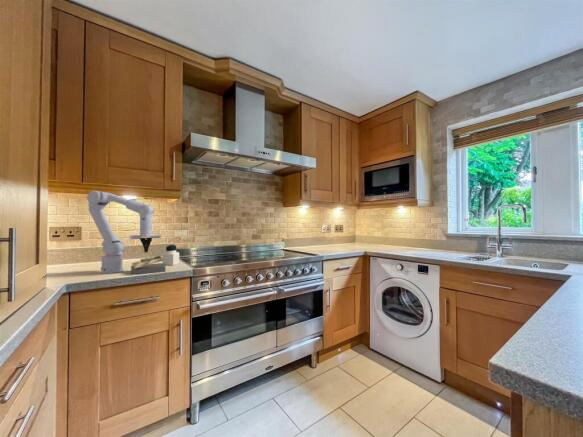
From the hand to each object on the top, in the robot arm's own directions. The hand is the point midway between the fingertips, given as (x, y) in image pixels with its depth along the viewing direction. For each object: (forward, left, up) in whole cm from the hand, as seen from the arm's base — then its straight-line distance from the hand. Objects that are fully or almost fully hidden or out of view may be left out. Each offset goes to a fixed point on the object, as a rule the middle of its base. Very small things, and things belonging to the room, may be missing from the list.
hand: (146, 252), depth 139 cm
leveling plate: (+1, 0, -6) cm, 6 cm away
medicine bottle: (+15, +15, -11) cm, 24 cm away
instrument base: (+1, 0, -10) cm, 10 cm away
